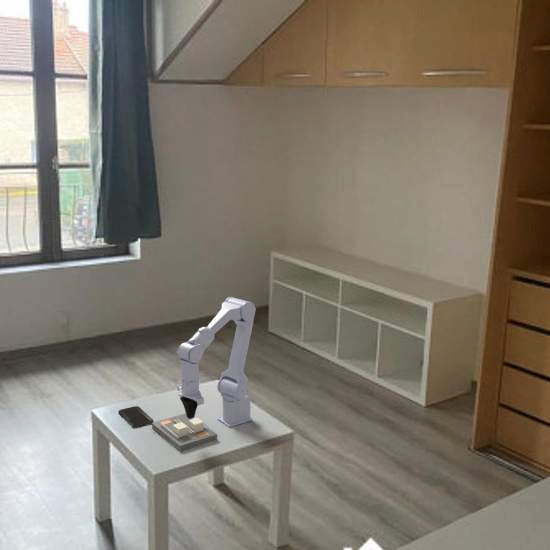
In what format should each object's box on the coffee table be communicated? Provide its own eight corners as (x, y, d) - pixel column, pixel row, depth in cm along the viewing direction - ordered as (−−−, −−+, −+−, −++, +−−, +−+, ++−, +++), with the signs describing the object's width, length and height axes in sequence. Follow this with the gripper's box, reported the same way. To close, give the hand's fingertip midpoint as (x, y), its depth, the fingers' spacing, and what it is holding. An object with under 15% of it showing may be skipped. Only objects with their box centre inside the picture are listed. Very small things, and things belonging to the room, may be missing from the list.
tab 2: (197, 425, 247) (197, 417, 246) (203, 430, 244) (203, 422, 243) (188, 428, 245) (188, 420, 244) (194, 432, 242) (194, 424, 241)
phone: (137, 405, 266) (154, 421, 253) (137, 408, 266) (154, 423, 254) (117, 410, 261) (133, 426, 249) (117, 413, 262) (133, 429, 250)
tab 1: (182, 430, 244) (182, 422, 243) (188, 434, 241) (187, 426, 240) (173, 433, 242) (172, 424, 241) (178, 437, 239) (178, 429, 238)
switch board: (187, 417, 258) (187, 410, 257) (217, 439, 242) (217, 431, 241) (152, 428, 250) (151, 420, 249) (180, 451, 234) (180, 443, 233)
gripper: (168, 374, 239) (169, 412, 242) (189, 389, 227) (190, 428, 231) (187, 369, 243) (188, 407, 246) (209, 384, 231) (209, 423, 235)
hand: (190, 417), depth 239 cm, fingers closed
